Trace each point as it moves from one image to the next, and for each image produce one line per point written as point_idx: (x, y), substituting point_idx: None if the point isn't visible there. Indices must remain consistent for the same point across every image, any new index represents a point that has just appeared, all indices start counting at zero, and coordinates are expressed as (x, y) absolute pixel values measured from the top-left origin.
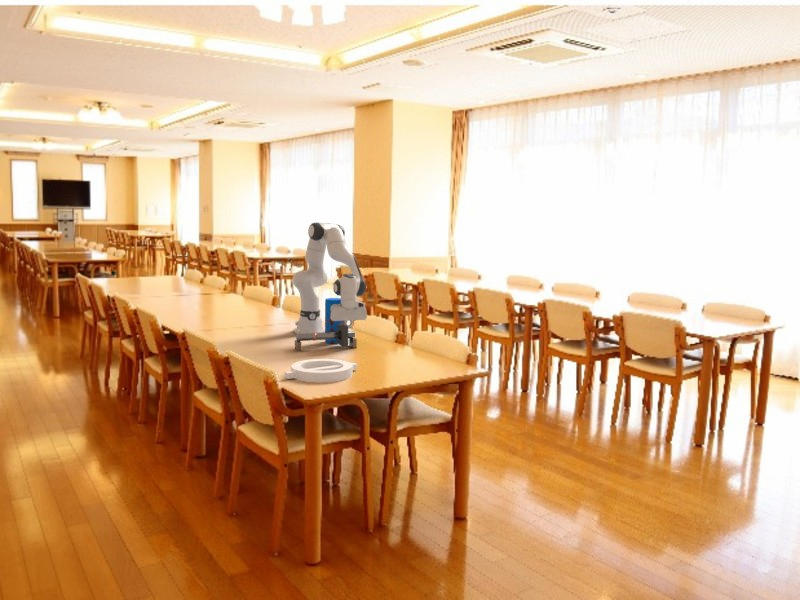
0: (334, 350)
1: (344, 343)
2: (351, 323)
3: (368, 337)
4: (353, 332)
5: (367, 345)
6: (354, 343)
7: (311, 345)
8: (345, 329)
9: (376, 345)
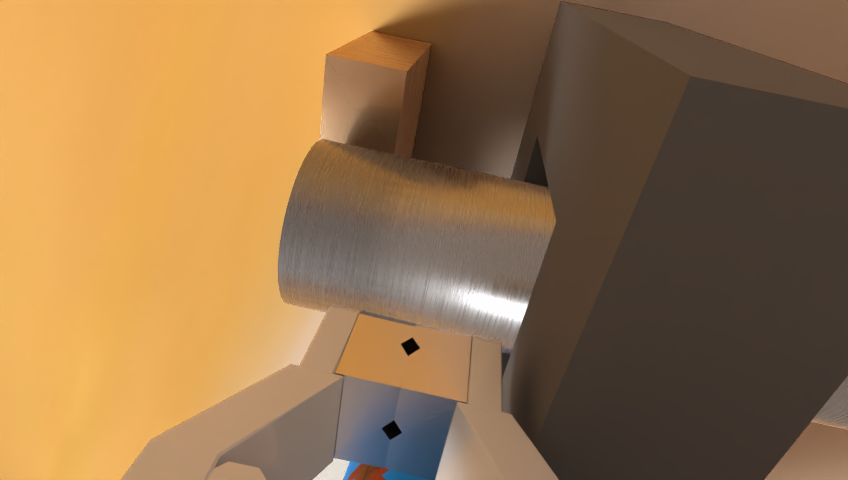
0: (825, 28)
1: (651, 23)
2: (274, 431)
3: (50, 462)
4: (325, 197)
5: (148, 132)
6: (393, 51)
7: (803, 459)
8: (785, 82)
9: (19, 68)
